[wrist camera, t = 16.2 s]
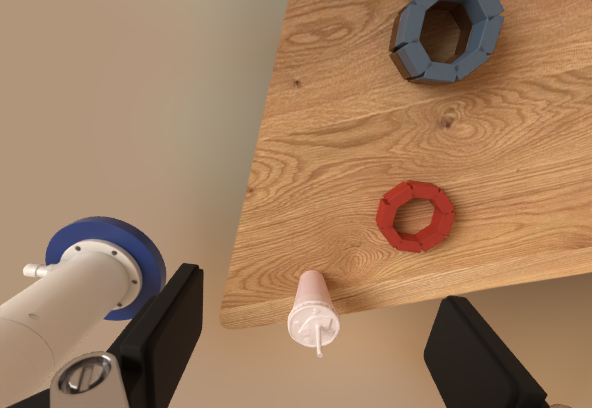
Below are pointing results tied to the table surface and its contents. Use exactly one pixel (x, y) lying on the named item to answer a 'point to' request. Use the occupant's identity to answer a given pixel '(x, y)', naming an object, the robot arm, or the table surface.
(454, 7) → the ring bottom
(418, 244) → the ring top
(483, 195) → the table surface
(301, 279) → the smoothie
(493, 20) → the ring middle
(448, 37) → the table surface
